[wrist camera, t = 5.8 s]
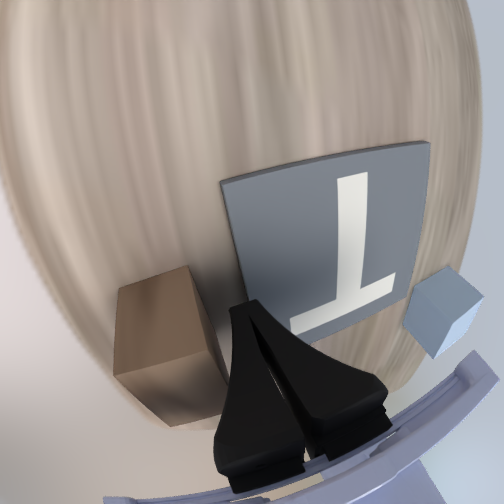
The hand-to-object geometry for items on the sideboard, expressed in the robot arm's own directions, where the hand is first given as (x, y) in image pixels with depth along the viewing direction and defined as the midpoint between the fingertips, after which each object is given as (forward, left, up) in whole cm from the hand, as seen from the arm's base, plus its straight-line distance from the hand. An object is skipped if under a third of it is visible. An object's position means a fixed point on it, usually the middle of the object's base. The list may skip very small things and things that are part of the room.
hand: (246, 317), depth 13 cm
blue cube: (-8, -16, -2) cm, 19 cm away
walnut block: (0, +2, +1) cm, 2 cm away
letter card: (0, -6, -2) cm, 7 cm away
